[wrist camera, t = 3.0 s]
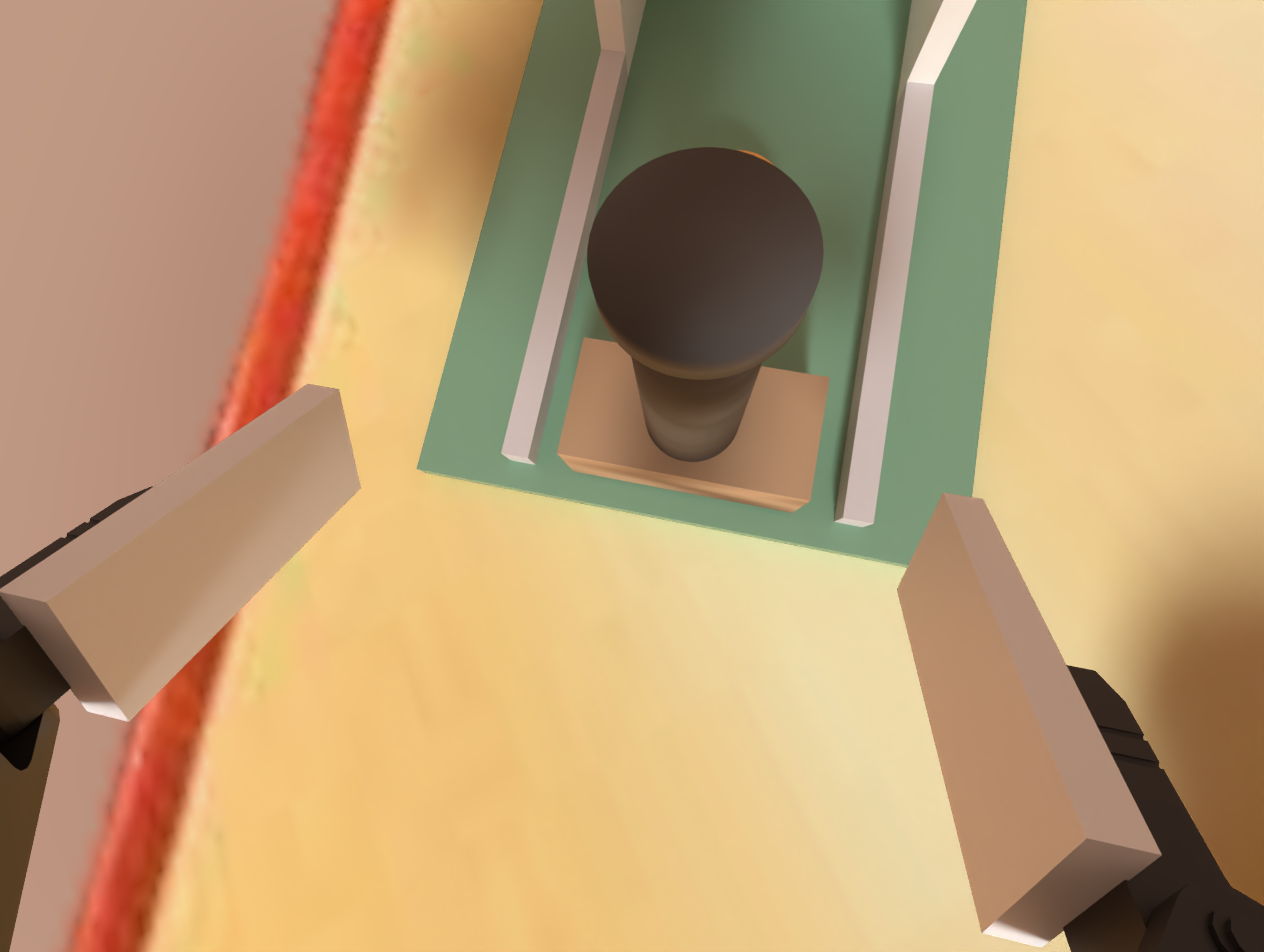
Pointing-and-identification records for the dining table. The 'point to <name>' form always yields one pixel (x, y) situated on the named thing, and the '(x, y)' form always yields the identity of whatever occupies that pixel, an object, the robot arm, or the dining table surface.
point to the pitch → (852, 241)
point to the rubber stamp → (700, 333)
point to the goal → (928, 42)
